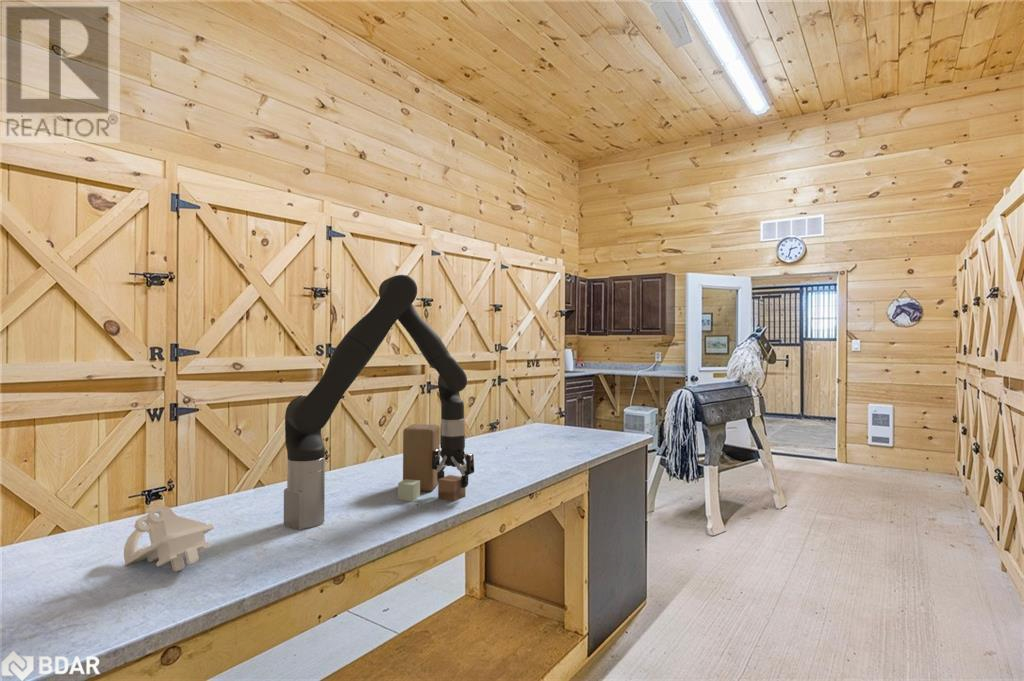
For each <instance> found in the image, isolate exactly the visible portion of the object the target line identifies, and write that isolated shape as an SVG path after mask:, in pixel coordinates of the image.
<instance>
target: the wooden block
mask: <svg viewBox="0 0 1024 681" xmlns="http://www.w3.org/2000/svg"><path fill="white" fill-rule="evenodd" d="M437 449H439V450H440V425H438V424H427V423H426V424H423V423H422V424H421V423H420V424H419V423H412V424H410V425H409V426H407V427H405V428H404V429H403V431H402V481H403V480H405V479H409V480H420V492H433V490H435V488H436V487H438V481H437V471H436V470H435V469H432V452H433V451H434V450H437Z"/></svg>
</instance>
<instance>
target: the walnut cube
mask: <svg viewBox="0 0 1024 681" xmlns="http://www.w3.org/2000/svg"><path fill="white" fill-rule="evenodd" d="M466 488H467V487H466ZM466 488H461V476H459V475H452V474H448V475H446V476H445V475H444V477H443V478H440V479H438V485H437V499H440V500H444V501H449V502H457V501H458V500H462V499H463V498H465V497H466Z"/></svg>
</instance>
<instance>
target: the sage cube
mask: <svg viewBox="0 0 1024 681" xmlns="http://www.w3.org/2000/svg"><path fill="white" fill-rule="evenodd" d="M419 497H421V491H420V480H409V479H405V480H403V479H402V480H401V481H400V482H398V483H397V500H398V501H408V502H413V501H415V500H417V499H418V498H419Z"/></svg>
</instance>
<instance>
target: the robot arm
mask: <svg viewBox="0 0 1024 681" xmlns="http://www.w3.org/2000/svg"><path fill="white" fill-rule="evenodd" d="M378 296H379V298H378V300H377V301H376V304H375V305H374V306H373V307H372V309H370V311H368V313H366V314H365V315H364V317H362V318H361V319H359V320H358V321H357V323H356V324H354V325H353V326H352V327H351V328H350V329H349V330H348V331H347V333H346V334H345V336H344V337H343V338H342V339H341V341H340V342H339V343H338V344H337V345H336V347H335V349H334V350H333V352H332V354H331V355H330V358H329V361H328V364H327V366H326V369H325V371H324V373H323V375H322V377H321V378H320V380H319V381H318V383H317V384H316V385H315V386H314V387H313V388H312V390H311V391H310V392H309V393H308V394H307V395H300V396H297V397H295V398H293V399H292V400H291V401H290V402H289V403H288V405H287V407H286V409H285V414H284V417H285V418H284V430H285V431H284V433H285V436H284V438H285V447H286V453H287V454H286V455H287V459H286V460H287V461H286V462H287V465H286V466H287V468H286V471H287V473H286V474H287V475H286V477H287V480H286V481H287V482H286V484H287V485H286V486H287V487H286V488H284V489H283V526H285V527H287V528H293V529H296V530H299V531H300V530H303V529H307V528H308V529H309V528H313V527H317V526H320V525H322V524H323V523H324V522H325V496H326V494H325V492H326V491H325V488H326V487H325V485H326V484H325V482H326V481H325V480H326V479H325V478H326V476H325V475H326V472H325V471H326V447H325V444H324V442H323V438H322V429H323V428H324V427H325V426H326V425H327V423H328V422H329V420H330V419H331V416H332V415H333V413H334V411H335V410H336V408H337V406H338V404H339V403H340V400H341V399H342V397H343V396H344V394H346V391H347V390H348V389H349V388H350V387H351V385H352V384H353V383H354V381H356V379H357V377H359V375H360V373H361V372H362V371H363V369H364V368H365V367H366V366H367V365H368V363H369V361H370V360H371V358H373V356H374V354H375V353H376V351H377V349H378V348H379V347H380V345H381V344H382V342H383V341H384V340H385V338H386V336H388V333H389V332H390V330H391V329H392V327H393V326H394V325H395V323H396V322H398V321H399V323H400V325H402V327H403V328H404V330H406V332H407V334H409V336H410V337H411V339H412V340H413V342H414V343H415V345H416V346H417V348H418V349H419V351H420V353H421V354H422V356H423V357H424V359H425V360H426V362H427V363H428V365H429V366H430V367H431V368H433V369H434V370H435V371H436V372H437V373H438V378H437V388H438V394H439V398H440V399H439V400H440V412H441V413H440V425H439V427H440V444H439V449H437V450H434V451H433V452H432V469H435V470H436V471H437V481H438V479H440V478H443V477H445V471H444V470H445V469H446V467H452V468H456V469H457V470H458V471H459V473H460V474H461V476H460V477H461V488H467V487H468V485H469V475H472V474H474V473H475V459H474V456H475V455H474V454H473V453H472V452H471V453H465V448H466V426H465V425H466V424H465V403H464V401H463V400H462V399H461V396H460V392H462V391H463V390H464V389H465V388H466V386H467V385H468V377H467V374H466V372H465V370H464V369H463V368H462V367H461V365H460V364H459V363H458V362H457V361H456V359H455V358H454V357H453V356H452V355H451V354H450V352H449V351H448V349H447V347H446V345H445V344H444V342H443V340H442V339H441V337H440V336H439V335H438V333H437V332H436V331H435V330H434V329H433V328H432V327H431V326H430V324H428V323H427V322H426V321H425V319H424V318H422V316H421V315H420V314H419V313H418V310H416V308H415V307H414V305H413V302H415V300H416V298H417V296H418V285H417V283H416V281H415V279H413V278H412V277H411V276H409V275H407V274H397V275H394V276H391V277H388V278H386V279H384V280H383V281H382V283H380V285H379V287H378ZM441 459H442V460H441Z"/></svg>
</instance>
